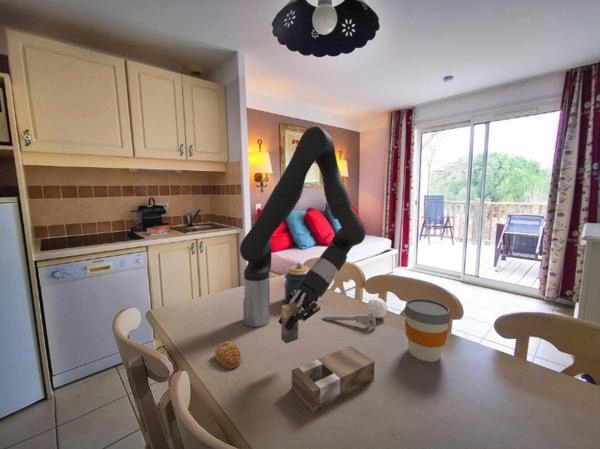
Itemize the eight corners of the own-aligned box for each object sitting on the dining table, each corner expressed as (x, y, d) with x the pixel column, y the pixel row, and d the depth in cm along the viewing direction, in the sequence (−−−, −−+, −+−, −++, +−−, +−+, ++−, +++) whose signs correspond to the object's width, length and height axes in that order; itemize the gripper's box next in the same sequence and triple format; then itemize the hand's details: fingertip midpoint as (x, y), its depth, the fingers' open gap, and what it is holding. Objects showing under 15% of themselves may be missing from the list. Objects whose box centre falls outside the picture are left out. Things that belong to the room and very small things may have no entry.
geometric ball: (375, 320, 113) (379, 301, 116) (389, 322, 106) (393, 301, 109) (360, 313, 110) (365, 294, 114) (374, 314, 103) (378, 293, 107)
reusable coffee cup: (402, 360, 82) (405, 311, 80) (402, 338, 94) (404, 296, 92) (450, 369, 78) (454, 318, 76) (444, 346, 90) (447, 301, 88)
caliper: (375, 328, 101) (376, 312, 101) (375, 330, 100) (375, 313, 100) (321, 318, 109) (322, 303, 108) (321, 319, 108) (321, 304, 107)
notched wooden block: (312, 412, 63) (313, 391, 62) (291, 388, 70) (291, 370, 70) (373, 379, 74) (374, 361, 73) (349, 361, 81) (350, 345, 81)
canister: (283, 296, 131) (283, 259, 129) (311, 295, 132) (311, 258, 130) (285, 307, 118) (285, 267, 116) (315, 306, 119) (316, 266, 117)
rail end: (285, 343, 77) (286, 309, 76) (281, 339, 79) (281, 305, 78) (297, 339, 79) (298, 305, 78) (293, 335, 81) (293, 302, 80)
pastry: (247, 364, 80) (246, 352, 80) (224, 373, 76) (224, 361, 76) (233, 349, 88) (233, 338, 87) (212, 357, 84) (212, 345, 83)
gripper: (299, 263, 87) (263, 310, 81) (328, 276, 75) (288, 331, 70) (312, 277, 90) (279, 322, 85) (342, 291, 79) (305, 344, 74)
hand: (283, 326), depth 78 cm, fingers closed on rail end, 2 cm apart
